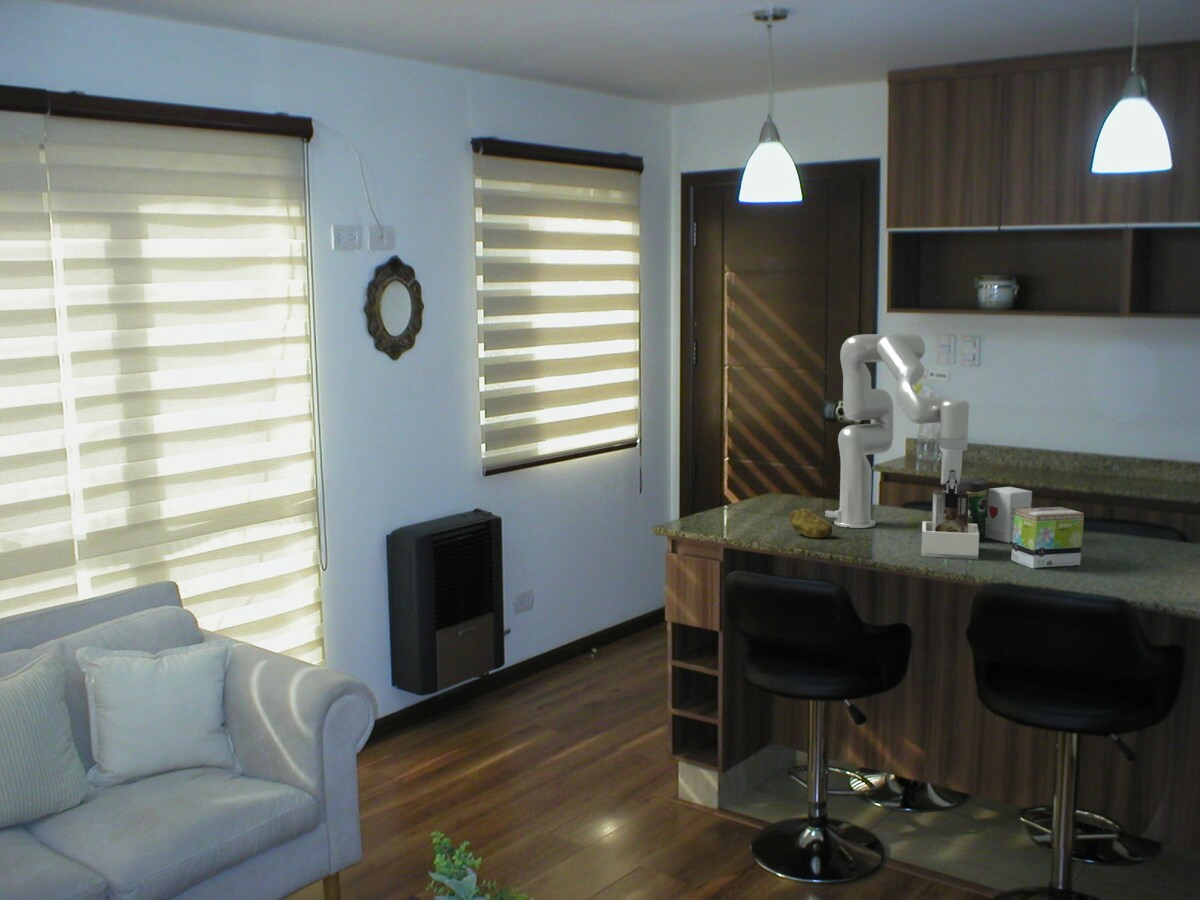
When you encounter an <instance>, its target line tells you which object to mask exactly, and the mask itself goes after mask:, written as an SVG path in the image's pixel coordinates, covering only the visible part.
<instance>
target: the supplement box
mask: <svg viewBox="0 0 1200 900" xmlns="http://www.w3.org/2000/svg"><path fill="white" fill-rule="evenodd" d="M987 492H988V493H987V494H988V495H987V514H986V537H988V538H987V539H990V538H992V539H991V540H994V539H996V540H995V541H998V540H1000V541H999V542H1001V541H1004V542H1003V543H1005V542H1008V543H1007V544H1010V543H1009V542H1013V530H1014V517H1015V509H1021V508H1032V500H1033V497H1032V496H1033V491H1032V490H1028V489H1023V488H1019V487H1018V488H1017V487H1013V486H1005V487H1004V486H1002V487H994V488H988V490H987ZM986 537H985V538H986Z"/></svg>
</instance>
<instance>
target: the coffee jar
mask: <svg viewBox="0 0 1200 900" xmlns="http://www.w3.org/2000/svg"><path fill="white" fill-rule="evenodd" d="M957 491H966V492H967V494H968V495H969V501H968V524H977V527H978V531H979V541H983V539H985V538H986V533H987V514H986V504H987V502H986V501H987V494H988V493H987V492H988V481H987V480H986V479H985V478H984V477H981V476H980V477H978V476H970V477H966V478H962V479H961V478H960V483H959V485H958V486H957Z"/></svg>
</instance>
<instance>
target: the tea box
mask: <svg viewBox="0 0 1200 900" xmlns="http://www.w3.org/2000/svg"><path fill="white" fill-rule="evenodd" d="M1084 515H1085V513H1084V512H1081V511H1077V510H1075V509H1070V508H1066V507H1063V506H1053V507H1052V506H1048V507H1031V508H1021V509H1015V517H1014V530H1013V543H1011V544H1012V548H1011V556H1010V557H1011V558H1010V559H1011V561H1012V562H1015V563H1017V564H1019V565H1022V566H1023V567H1024V566H1026V567H1028V568H1031V569H1037V568H1038V569H1039V568H1051V567H1053V568H1054V567H1056V568H1057V567H1075V566H1074V565H1079V566H1081V560H1082V559H1081V558H1082V549H1083V548H1082V547H1083V533H1084V520H1085V516H1084Z"/></svg>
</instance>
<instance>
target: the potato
mask: <svg viewBox="0 0 1200 900" xmlns="http://www.w3.org/2000/svg"><path fill="white" fill-rule="evenodd" d="M788 518H789V519H788V520H789V523H790V524H791V527H793V529H794V530H796V531H797V532H799V533H800V534H802V535H803V536H805V537H808V538H813V539H821V538H824V539H825V538H827V537H829V536H831V535H832V534H833V526H832V524H831V523H829V522H828V521H826V520H825V519H823V518H822V517H820V516H819V515H817V514H816V513H813V512H812V511H811V510H809V509H805V508H797V509H794V510H793V511H791V512H790V514H789V516H788Z"/></svg>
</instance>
